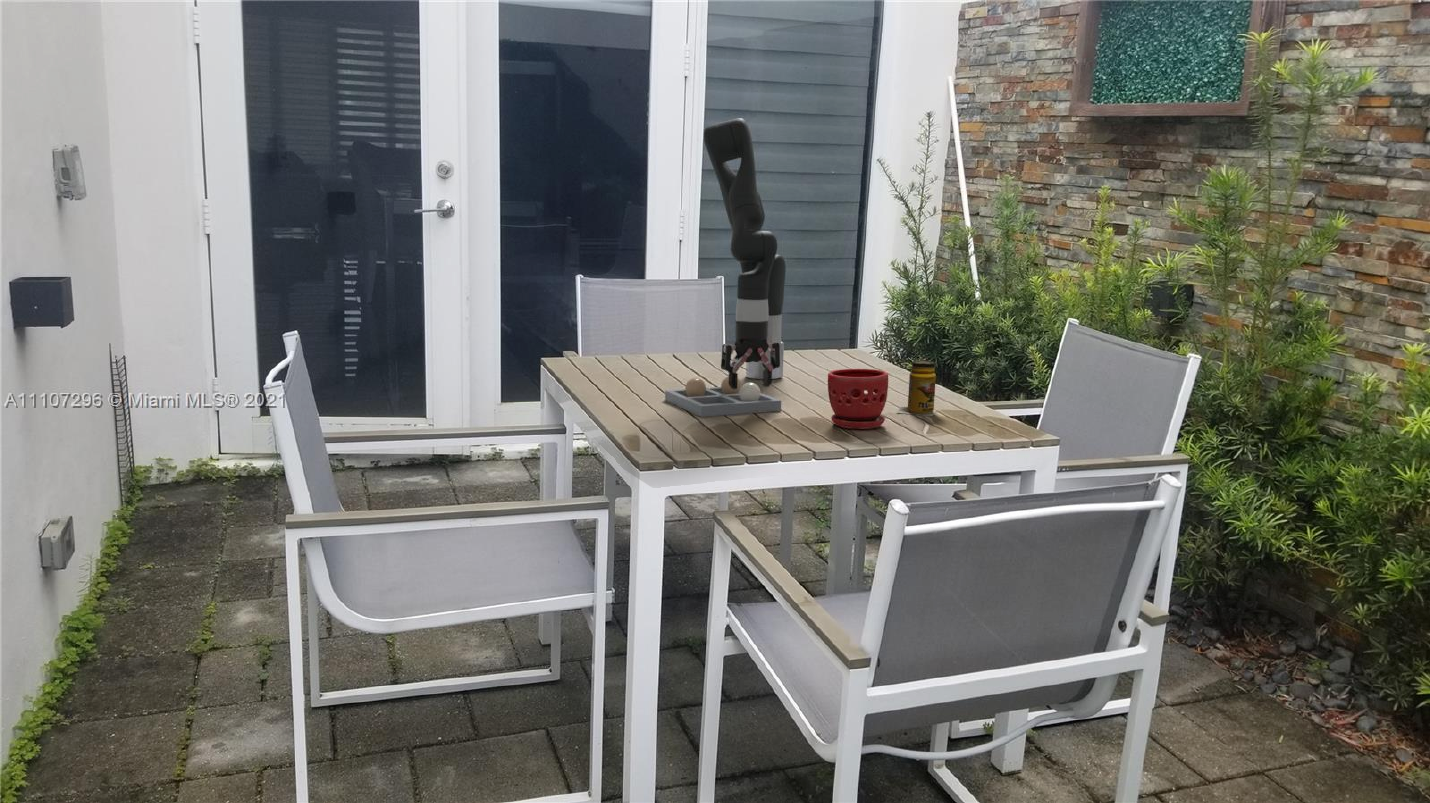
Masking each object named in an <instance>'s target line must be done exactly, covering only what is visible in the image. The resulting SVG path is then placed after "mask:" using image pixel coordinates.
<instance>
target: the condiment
mask: <svg viewBox="0 0 1430 803" xmlns="http://www.w3.org/2000/svg"><path fill="white" fill-rule="evenodd" d="M910 368H911V369H910V370H911V371H910V373H909V379H908V380H909V381H908V395H907V396H908V397H907V406H900V408H899V409H898V410H897V412H896V413H897V414H909V415H915V416H925V417H926V416H927V417H933V416H934V415H935V414H936V412H937V409H935V397H936V394H935V393H936V381H937V380H936V379H937V378H936V376H937V375H936V373H935V371H936V370H935V368H936V364H935V362H933V361H930V360H922V359H920V360H913V361H912V363H911V367H910Z"/></svg>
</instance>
